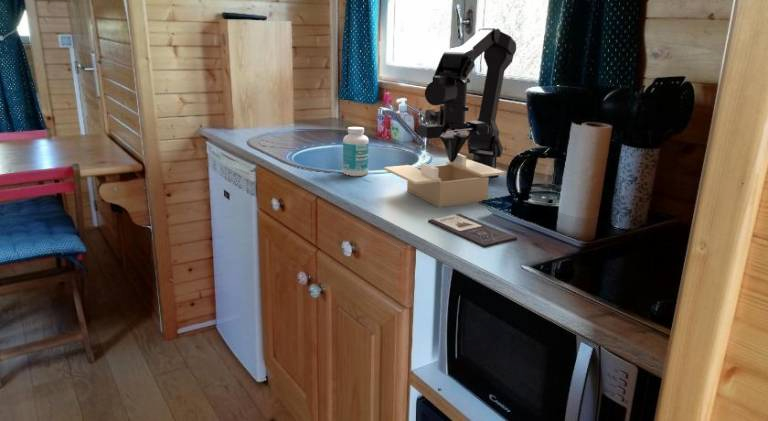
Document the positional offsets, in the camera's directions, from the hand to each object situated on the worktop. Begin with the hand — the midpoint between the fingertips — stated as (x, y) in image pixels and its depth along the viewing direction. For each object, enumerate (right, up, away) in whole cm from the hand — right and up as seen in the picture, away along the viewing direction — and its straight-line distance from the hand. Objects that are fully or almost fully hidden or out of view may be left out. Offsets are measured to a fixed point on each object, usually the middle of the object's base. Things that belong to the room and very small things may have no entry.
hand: (451, 161), depth 152 cm
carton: (-2, -9, -3) cm, 10 cm away
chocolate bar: (+1, -18, -29) cm, 34 cm away
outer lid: (-11, -4, -10) cm, 15 cm away
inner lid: (+6, -2, -2) cm, 6 cm away
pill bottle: (-26, -2, +17) cm, 31 cm away
